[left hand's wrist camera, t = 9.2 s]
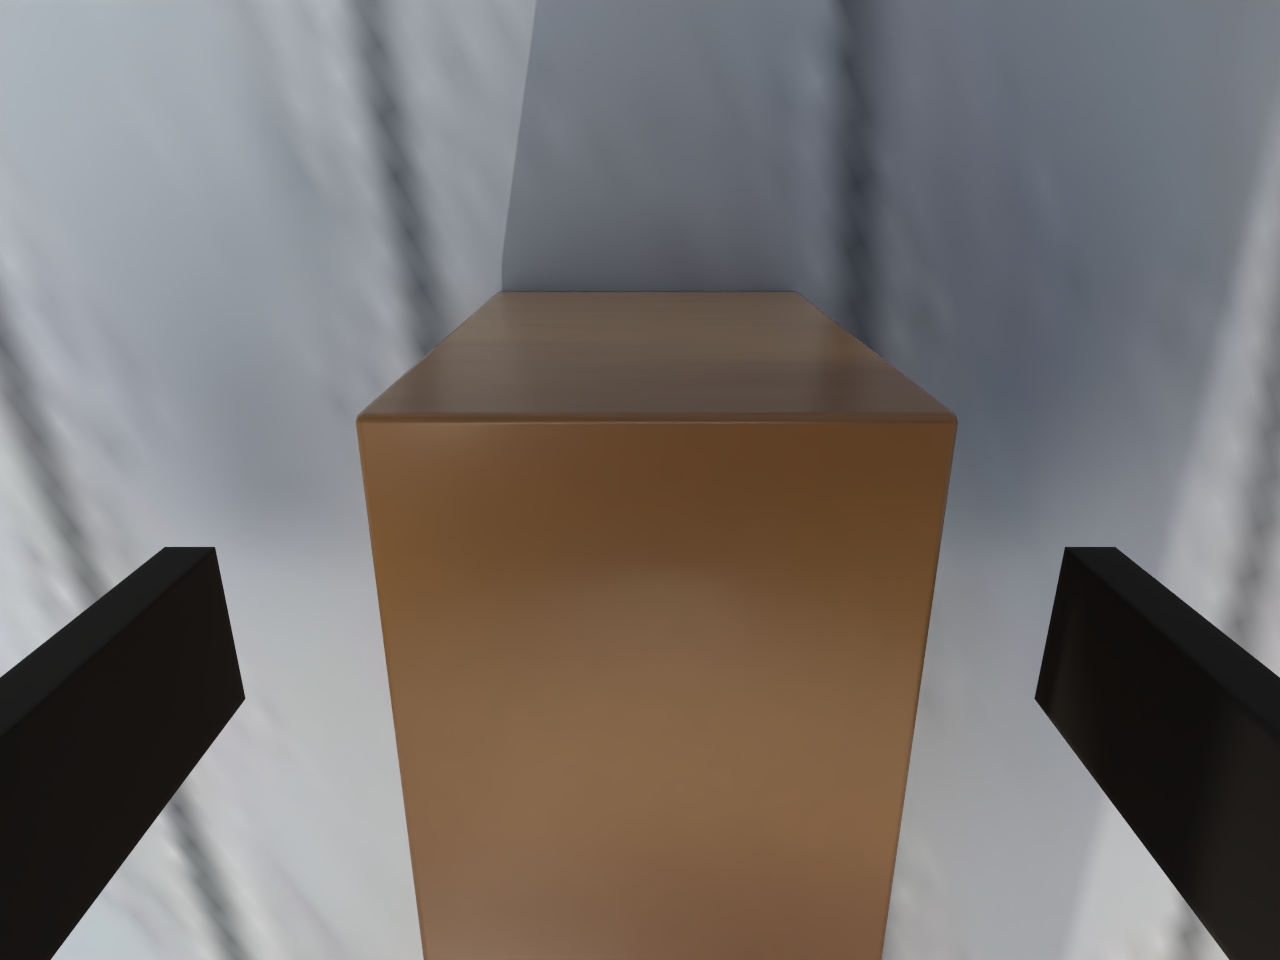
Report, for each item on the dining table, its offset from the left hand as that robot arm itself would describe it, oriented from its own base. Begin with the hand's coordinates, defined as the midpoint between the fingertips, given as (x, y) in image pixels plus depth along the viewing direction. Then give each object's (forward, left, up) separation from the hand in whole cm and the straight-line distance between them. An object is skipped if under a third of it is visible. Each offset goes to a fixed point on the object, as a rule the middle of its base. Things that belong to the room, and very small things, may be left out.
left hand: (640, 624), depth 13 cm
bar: (-3, +31, -4) cm, 31 cm away
